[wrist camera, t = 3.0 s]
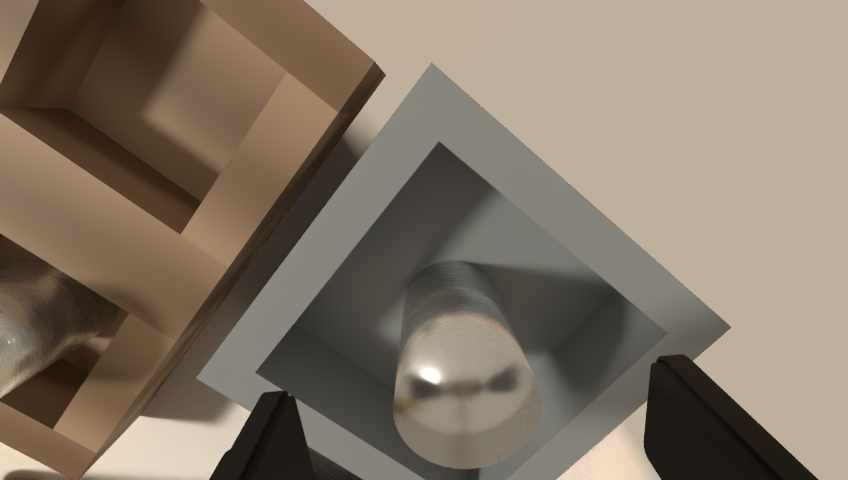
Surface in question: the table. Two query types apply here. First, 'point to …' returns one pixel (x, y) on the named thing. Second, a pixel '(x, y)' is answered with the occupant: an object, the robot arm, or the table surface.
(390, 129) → the tray
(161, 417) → the table surface
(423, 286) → the cylinder
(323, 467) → the button housing
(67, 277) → the cylinder
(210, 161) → the brown compartment tray
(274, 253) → the table surface
